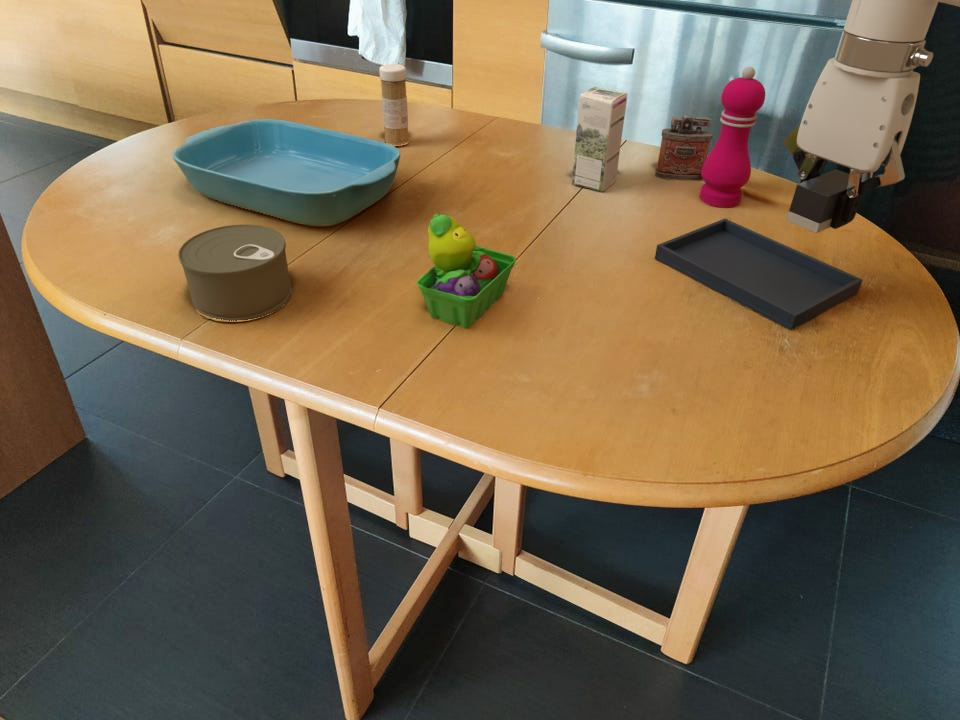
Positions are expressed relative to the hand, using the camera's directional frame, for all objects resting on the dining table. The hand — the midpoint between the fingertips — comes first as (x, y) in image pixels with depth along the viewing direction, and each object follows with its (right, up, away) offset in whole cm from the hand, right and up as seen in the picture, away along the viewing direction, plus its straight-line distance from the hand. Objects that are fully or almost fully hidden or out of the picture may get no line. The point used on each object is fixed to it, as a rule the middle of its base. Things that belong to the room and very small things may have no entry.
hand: (821, 216), depth 84 cm
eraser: (0, 0, 0) cm, 0 cm away
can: (-69, -9, +4) cm, 70 cm away
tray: (-4, -6, +10) cm, 12 cm away
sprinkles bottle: (-55, +23, +47) cm, 76 cm away
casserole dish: (-69, +9, +28) cm, 76 cm away
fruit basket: (-42, -10, +3) cm, 43 cm away
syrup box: (-21, +12, +33) cm, 41 cm away
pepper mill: (-2, +8, +29) cm, 30 cm away
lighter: (-7, +14, +36) cm, 39 cm away
